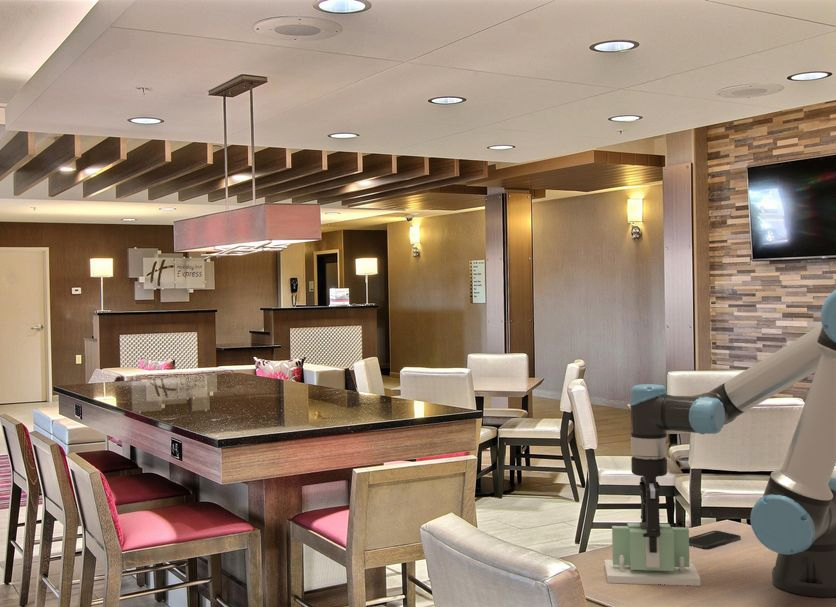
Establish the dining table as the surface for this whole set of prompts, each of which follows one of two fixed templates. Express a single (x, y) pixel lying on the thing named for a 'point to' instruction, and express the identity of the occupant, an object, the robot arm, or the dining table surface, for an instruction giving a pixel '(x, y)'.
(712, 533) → the phone
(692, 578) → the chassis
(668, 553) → the green stepped block
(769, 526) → the robot arm
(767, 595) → the dining table surface
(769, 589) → the dining table surface
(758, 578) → the dining table surface
